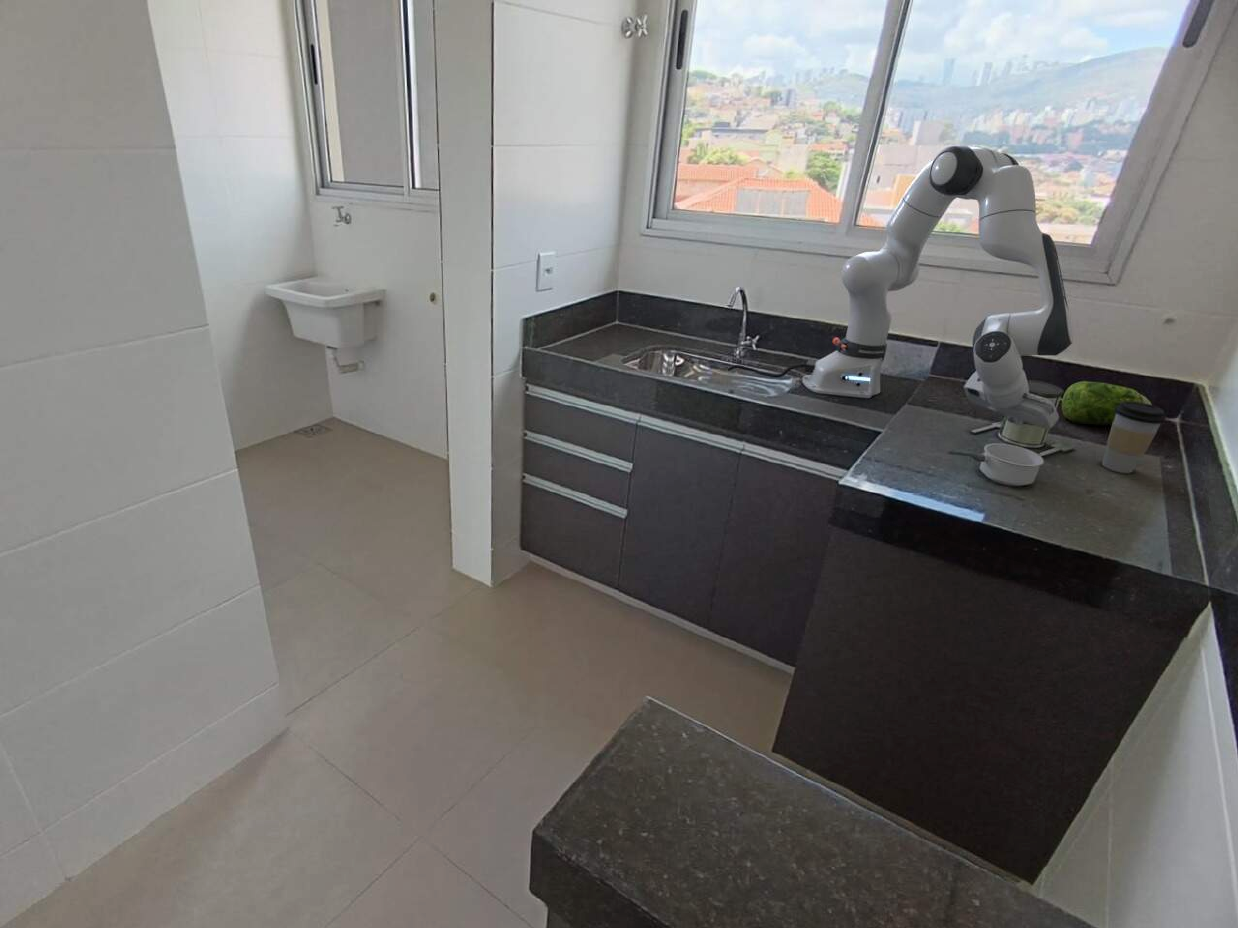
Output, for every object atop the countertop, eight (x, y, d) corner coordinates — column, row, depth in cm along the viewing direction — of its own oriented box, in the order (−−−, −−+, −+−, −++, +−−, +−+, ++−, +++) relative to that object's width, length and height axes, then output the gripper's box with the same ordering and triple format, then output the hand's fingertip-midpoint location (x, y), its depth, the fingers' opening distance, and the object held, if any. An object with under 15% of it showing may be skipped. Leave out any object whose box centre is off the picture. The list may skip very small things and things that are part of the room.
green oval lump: (1153, 436, 172) (1171, 395, 167) (1071, 428, 174) (1087, 388, 169) (1127, 419, 182) (1144, 381, 177) (1050, 413, 184) (1064, 374, 179)
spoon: (1041, 460, 153) (1042, 457, 153) (1028, 455, 156) (1029, 452, 156) (1072, 449, 160) (1073, 447, 160) (1059, 444, 163) (1060, 442, 163)
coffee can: (990, 430, 169) (1007, 378, 163) (1031, 433, 169) (1049, 381, 163) (1009, 446, 160) (1028, 391, 154) (1052, 449, 160) (1072, 395, 154)
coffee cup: (1144, 468, 152) (1171, 408, 146) (1138, 481, 146) (1166, 418, 140) (1097, 455, 158) (1121, 396, 152) (1089, 466, 152) (1113, 406, 145)
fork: (976, 435, 166) (977, 433, 166) (967, 431, 168) (968, 429, 167) (1009, 425, 173) (1010, 424, 173) (1001, 422, 175) (1001, 420, 175)
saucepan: (930, 462, 149) (936, 439, 147) (1017, 467, 149) (1025, 444, 147) (951, 485, 139) (959, 461, 136) (1046, 490, 139) (1055, 467, 136)
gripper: (1060, 391, 142) (1068, 426, 151) (973, 365, 158) (985, 398, 167) (1042, 413, 142) (1051, 447, 151) (957, 385, 158) (969, 417, 167)
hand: (1015, 421), depth 159 cm, fingers closed, pressing on coffee can
